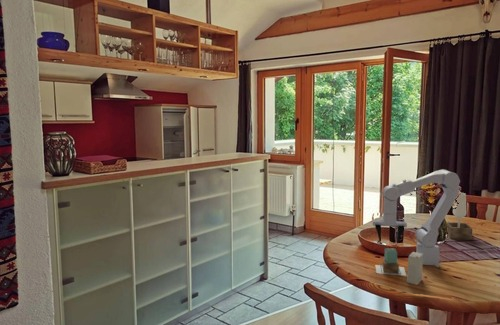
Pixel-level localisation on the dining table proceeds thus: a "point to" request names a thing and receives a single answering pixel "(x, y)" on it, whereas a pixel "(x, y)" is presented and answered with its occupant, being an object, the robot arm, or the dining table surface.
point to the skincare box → (415, 268)
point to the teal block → (390, 255)
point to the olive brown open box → (459, 230)
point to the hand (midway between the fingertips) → (388, 241)
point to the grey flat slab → (380, 270)
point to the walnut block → (390, 267)
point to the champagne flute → (460, 208)
